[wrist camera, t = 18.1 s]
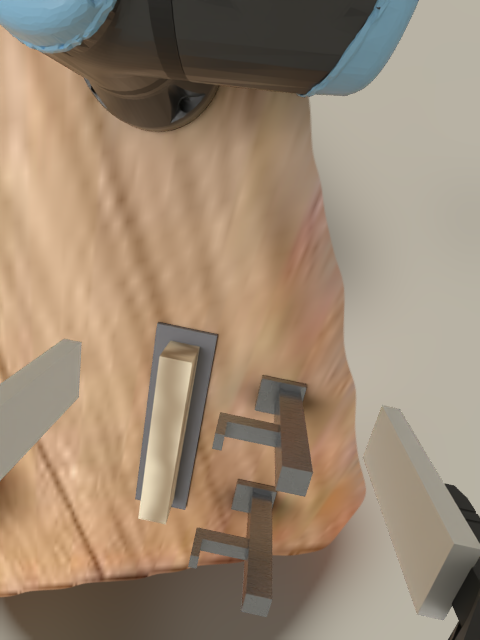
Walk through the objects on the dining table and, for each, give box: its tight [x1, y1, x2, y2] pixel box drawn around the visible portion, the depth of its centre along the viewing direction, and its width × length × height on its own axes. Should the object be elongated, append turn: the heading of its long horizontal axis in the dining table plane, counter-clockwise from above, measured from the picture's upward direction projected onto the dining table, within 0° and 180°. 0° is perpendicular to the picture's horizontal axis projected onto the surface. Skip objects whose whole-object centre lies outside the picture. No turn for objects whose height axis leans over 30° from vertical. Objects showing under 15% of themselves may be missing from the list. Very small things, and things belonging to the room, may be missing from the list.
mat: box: [135, 322, 218, 510], centre depth 54 cm, size 8×30×1 cm, turn 169°
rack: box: [188, 375, 313, 617], centre depth 47 cm, size 10×23×16 cm, turn 169°
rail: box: [138, 341, 200, 524], centre depth 52 cm, size 4×26×5 cm, turn 169°
